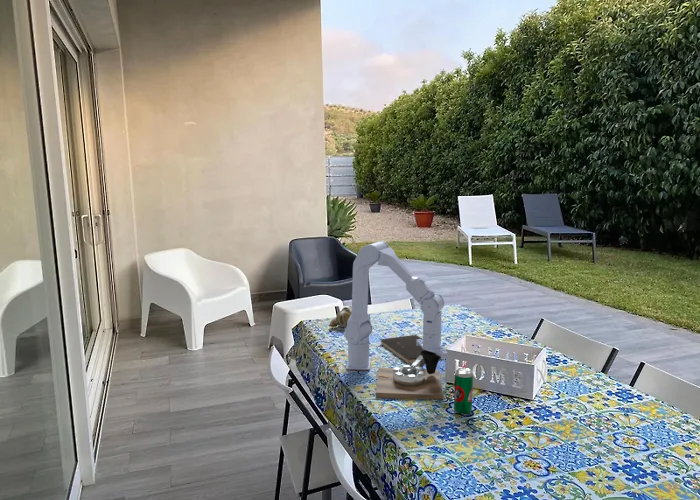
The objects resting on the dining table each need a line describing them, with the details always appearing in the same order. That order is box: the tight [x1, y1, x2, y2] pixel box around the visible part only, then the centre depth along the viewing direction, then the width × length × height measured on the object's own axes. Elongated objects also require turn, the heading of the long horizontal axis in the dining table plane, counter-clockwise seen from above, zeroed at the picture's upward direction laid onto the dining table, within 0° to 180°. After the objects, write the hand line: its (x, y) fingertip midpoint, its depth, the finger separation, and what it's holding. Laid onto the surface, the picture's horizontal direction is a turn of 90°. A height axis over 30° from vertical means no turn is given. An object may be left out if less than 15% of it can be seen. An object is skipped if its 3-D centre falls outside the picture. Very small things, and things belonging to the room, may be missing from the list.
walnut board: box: [375, 367, 444, 401], centre depth 177 cm, size 20×20×2 cm
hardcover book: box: [379, 334, 443, 365], centre depth 209 cm, size 16×23×2 cm
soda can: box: [453, 367, 474, 415], centre depth 158 cm, size 5×5×12 cm
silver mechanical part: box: [393, 355, 426, 386], centre depth 181 cm, size 19×10×4 cm, turn 155°
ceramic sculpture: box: [328, 305, 352, 329], centre depth 238 cm, size 11×9×15 cm
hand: (431, 373), depth 181 cm, fingers closed
